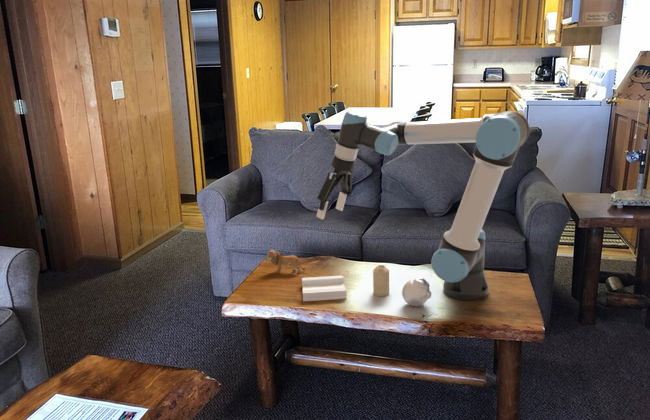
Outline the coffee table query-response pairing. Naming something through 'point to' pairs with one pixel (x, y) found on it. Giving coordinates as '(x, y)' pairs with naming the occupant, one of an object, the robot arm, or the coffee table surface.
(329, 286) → the tray
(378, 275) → the candle
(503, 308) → the coffee table surface
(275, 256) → the lion figurine
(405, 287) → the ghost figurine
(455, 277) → the robot arm
